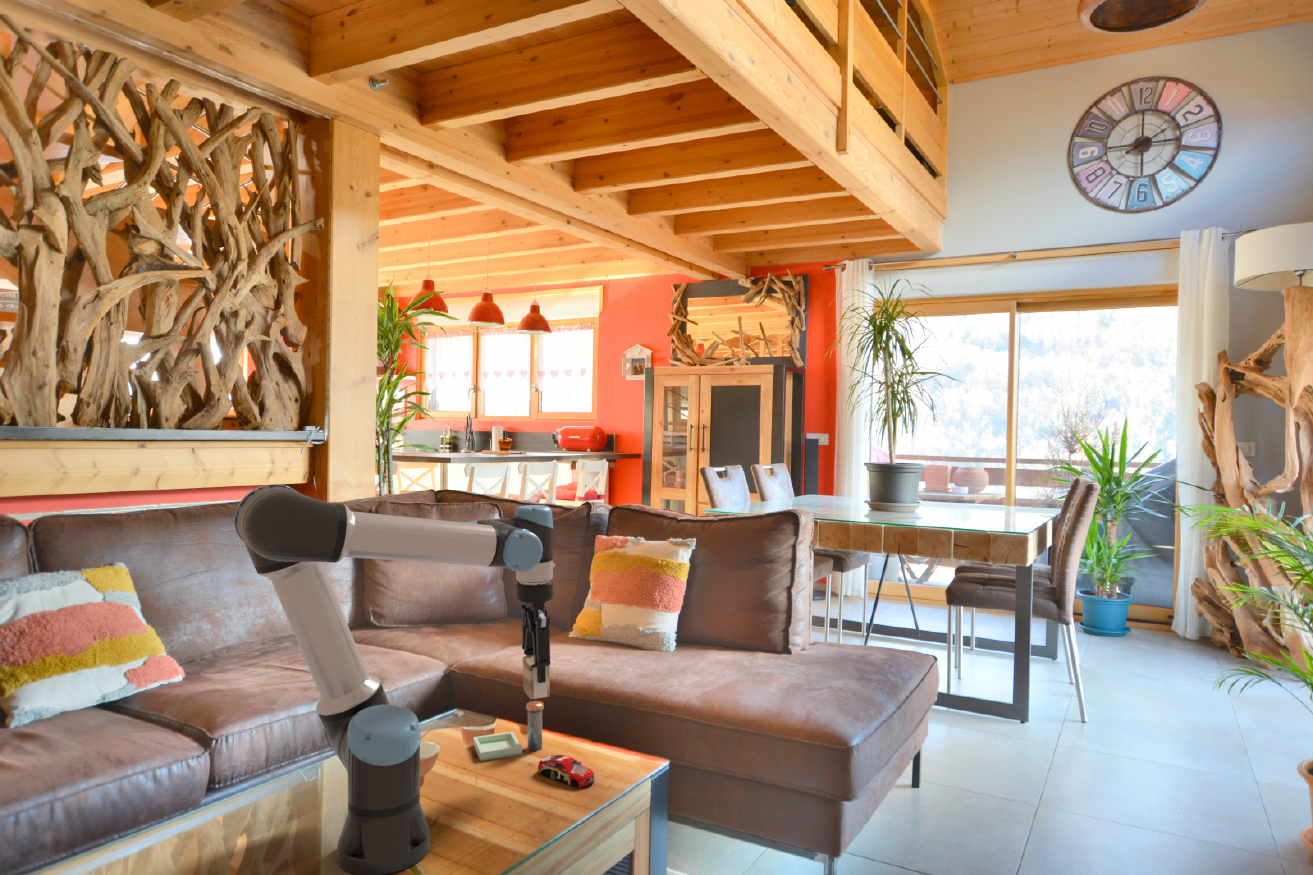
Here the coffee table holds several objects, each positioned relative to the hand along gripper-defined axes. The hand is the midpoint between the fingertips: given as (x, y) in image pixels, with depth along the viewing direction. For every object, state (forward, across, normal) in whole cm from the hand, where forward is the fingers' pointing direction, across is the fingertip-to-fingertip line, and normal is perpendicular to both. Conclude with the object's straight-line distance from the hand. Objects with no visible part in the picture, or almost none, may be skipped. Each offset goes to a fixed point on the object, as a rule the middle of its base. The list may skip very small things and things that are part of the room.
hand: (536, 691), depth 170 cm
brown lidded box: (0, 0, 0) cm, 0 cm away
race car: (+18, -4, -5) cm, 19 cm away
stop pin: (+18, +13, -3) cm, 22 cm away
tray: (+17, +15, +5) cm, 23 cm away
